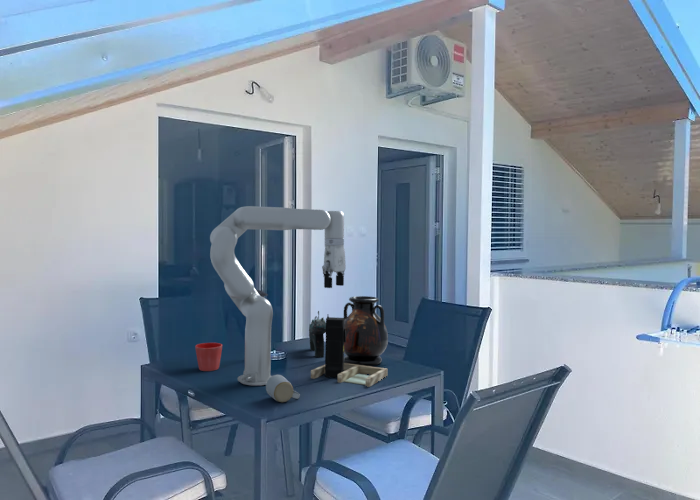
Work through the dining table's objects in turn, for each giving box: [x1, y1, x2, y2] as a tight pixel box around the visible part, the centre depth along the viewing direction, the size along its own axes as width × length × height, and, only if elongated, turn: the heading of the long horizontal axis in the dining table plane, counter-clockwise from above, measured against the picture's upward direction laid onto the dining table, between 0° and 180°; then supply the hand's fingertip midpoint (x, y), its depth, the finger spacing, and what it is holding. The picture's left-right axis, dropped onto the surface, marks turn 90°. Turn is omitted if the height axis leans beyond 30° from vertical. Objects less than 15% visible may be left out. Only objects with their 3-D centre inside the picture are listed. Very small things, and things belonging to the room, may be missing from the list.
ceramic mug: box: [265, 374, 301, 403], centre depth 190 cm, size 11×8×8 cm
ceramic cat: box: [308, 310, 326, 358], centre depth 261 cm, size 20×6×20 cm, turn 13°
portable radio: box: [324, 315, 346, 379], centre depth 222 cm, size 8×6×25 cm
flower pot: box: [194, 342, 223, 372], centre depth 229 cm, size 11×11×10 cm
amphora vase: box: [343, 295, 389, 367], centre depth 245 cm, size 22×22×28 cm
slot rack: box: [310, 362, 389, 388], centre depth 221 cm, size 18×24×3 cm
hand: (334, 286), depth 222 cm, fingers open, 9 cm apart
